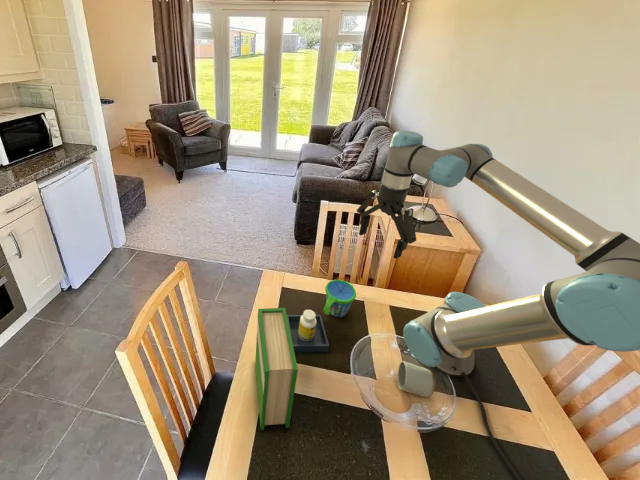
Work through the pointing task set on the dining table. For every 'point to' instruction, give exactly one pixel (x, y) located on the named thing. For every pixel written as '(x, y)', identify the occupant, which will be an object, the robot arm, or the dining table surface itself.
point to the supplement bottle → (307, 325)
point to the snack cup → (338, 297)
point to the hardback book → (275, 367)
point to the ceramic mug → (415, 379)
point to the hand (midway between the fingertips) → (378, 244)
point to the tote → (316, 343)
